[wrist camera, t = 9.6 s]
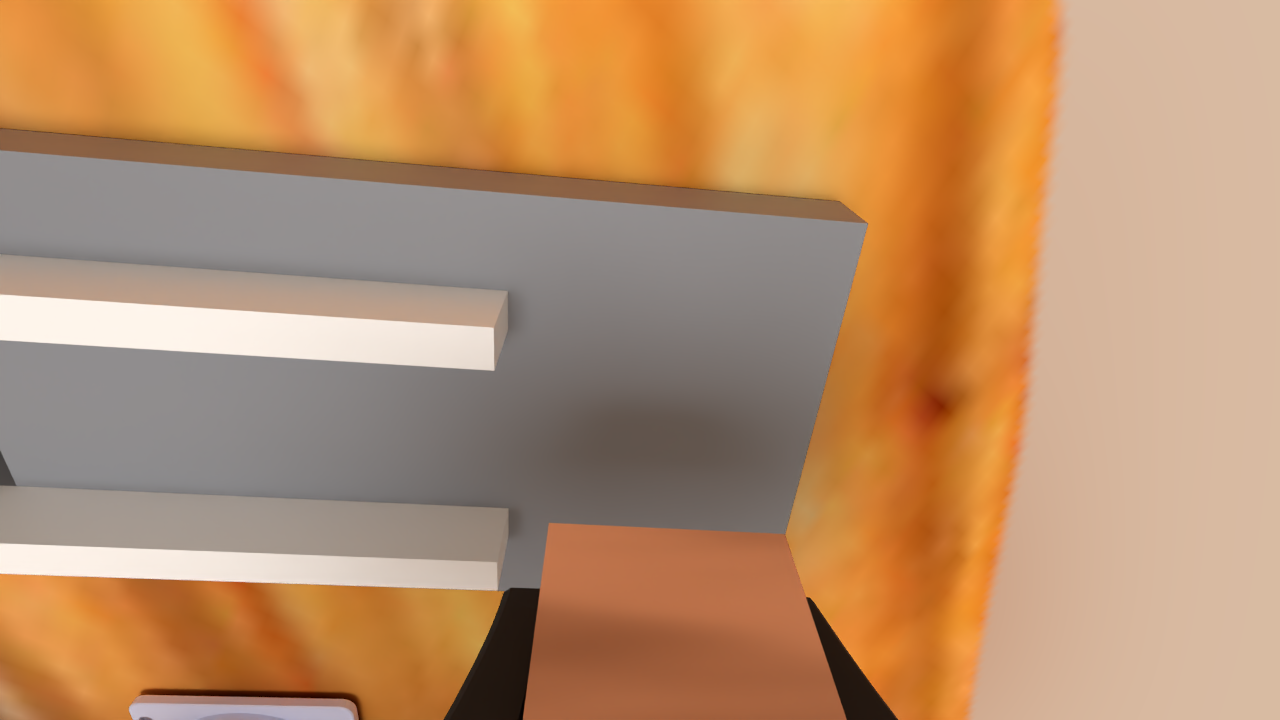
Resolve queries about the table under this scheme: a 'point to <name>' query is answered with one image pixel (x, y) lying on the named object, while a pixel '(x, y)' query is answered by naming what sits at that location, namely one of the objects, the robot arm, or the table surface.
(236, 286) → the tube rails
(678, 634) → the block
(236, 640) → the table surface
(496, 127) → the table surface
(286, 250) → the trap deck
